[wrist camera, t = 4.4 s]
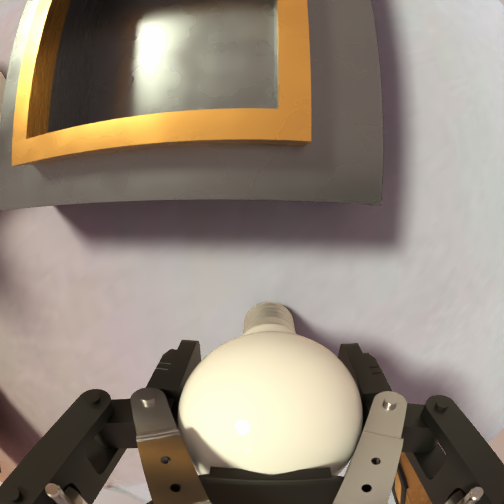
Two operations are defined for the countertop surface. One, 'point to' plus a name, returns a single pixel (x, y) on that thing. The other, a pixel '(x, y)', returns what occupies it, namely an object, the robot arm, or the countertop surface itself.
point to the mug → (1, 90)
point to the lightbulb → (270, 402)
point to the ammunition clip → (408, 484)
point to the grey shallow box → (192, 102)
